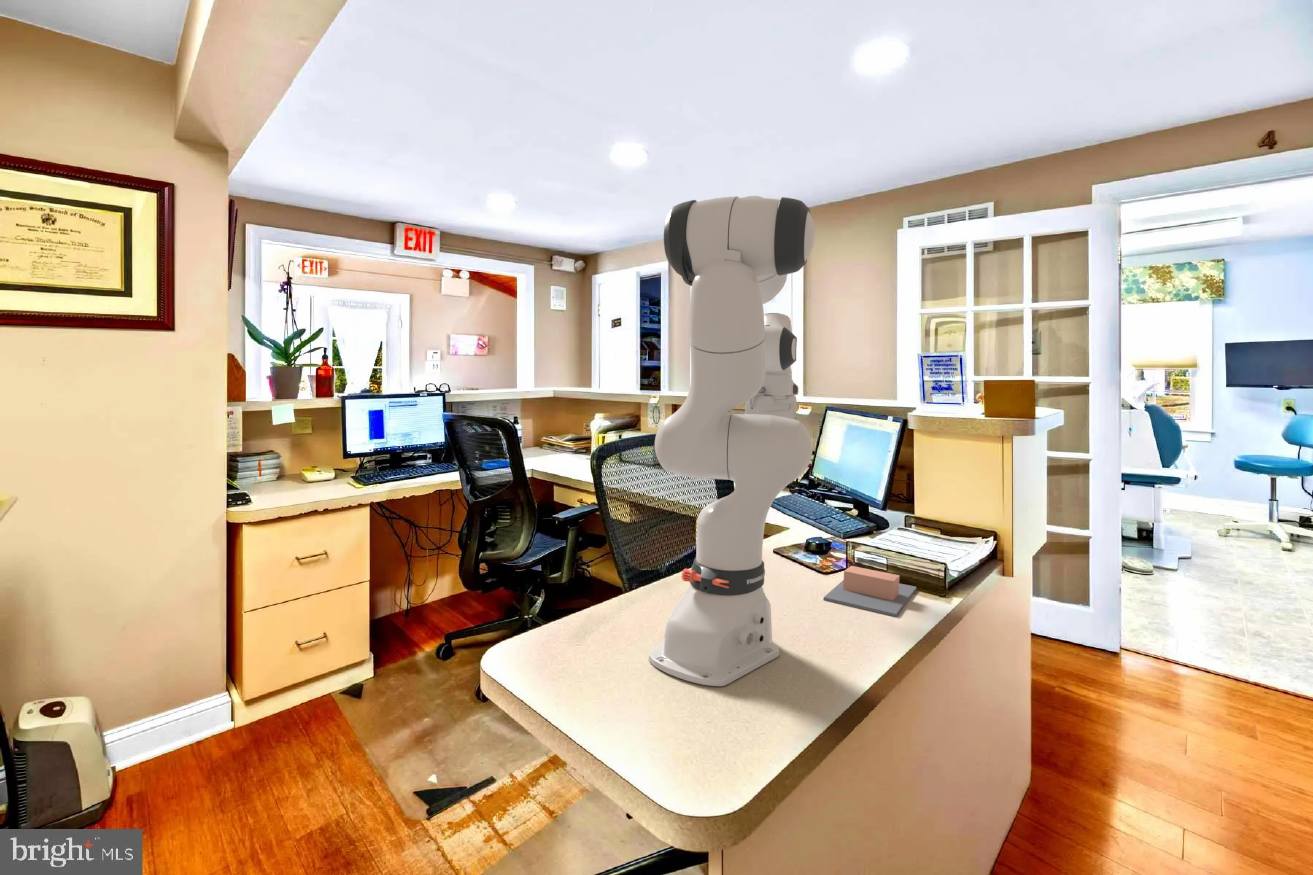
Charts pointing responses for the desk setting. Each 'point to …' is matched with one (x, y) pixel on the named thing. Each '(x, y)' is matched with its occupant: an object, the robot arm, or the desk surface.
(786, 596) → the desk surface
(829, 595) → the mat
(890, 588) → the block
